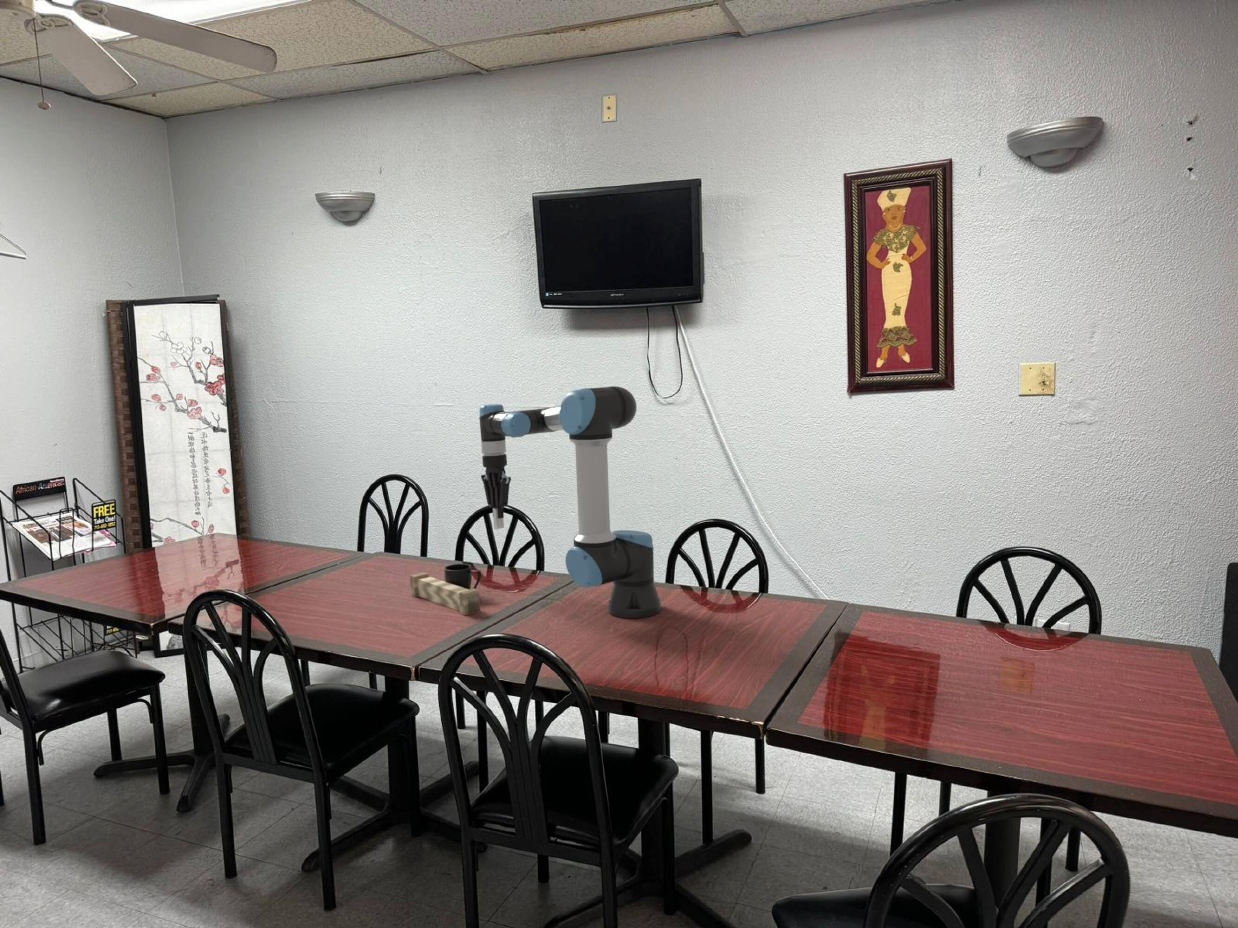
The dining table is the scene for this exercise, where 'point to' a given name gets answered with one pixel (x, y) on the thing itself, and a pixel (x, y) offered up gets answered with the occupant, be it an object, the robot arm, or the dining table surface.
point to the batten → (445, 593)
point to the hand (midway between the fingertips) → (499, 527)
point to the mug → (461, 575)
